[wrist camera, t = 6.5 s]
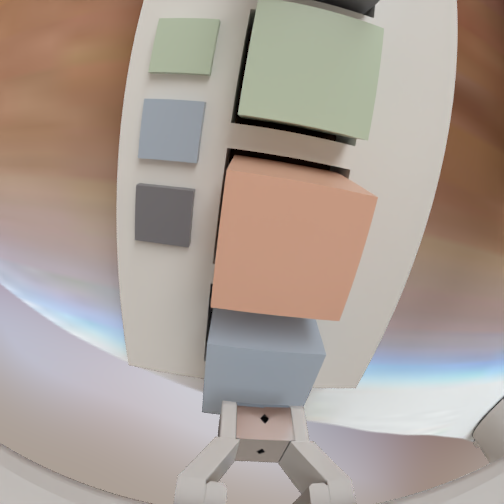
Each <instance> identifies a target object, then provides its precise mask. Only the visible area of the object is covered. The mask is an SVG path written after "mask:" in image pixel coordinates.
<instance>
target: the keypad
mask: <svg viewBox="0 0 504 504" xmlns="http://www.w3.org/2000/svg"><path fill="white" fill-rule="evenodd" d="M282 1H288V2H293V3H298V4H303V5H308V6H312V7H316V8H320V9H324V10H328V11H332V12H336V13H339V14H343V15H346V16H349V17H353V18H356V19H359V20H362V21H365V22H368V23H371V24H373V25H376V26H379V27H382V28H384V35H383V45H382V54H381V62H380V70H379V77H378V85H377V91H376V98H375V104H374V110H373V116H372V122H371V127H370V133H369V138H368V141H367V140H361V139H355V138H349V137H343V136H336V141H331V140H327V139H322V138H318V137H313V136H308V135H303V134H298V133H293V132H287V131H282V130H276V129H270V128H264V127H257V126H251V125H244V124H236V123H235V118H236V112H237V106H238V99H239V93H240V87H241V81H242V75H243V69H244V64H245V58H246V52H247V47H248V41H249V36H250V30H252V28H253V23H254V18H255V13H256V7H257V2H258V0H144V2H143V5H142V9H141V13H140V17H139V21H138V25H137V30H136V34H135V39H134V43H133V48H132V53H131V58H130V64H129V70H128V76H127V82H126V89H125V96H124V103H123V111H122V120H121V130H120V141H119V155H118V173H117V257H118V275H119V289H120V300H121V311H122V320H123V328H124V336H125V343H126V350H127V357H128V363H129V365H131V366H135V367H140V368H144V369H149V370H154V371H160V372H165V373H170V374H176V375H182V376H188V377H195V378H201V379H204V377H205V364H206V352H207V342H208V336H209V330H210V319H211V308H212V307H211V297H212V287H213V278H214V268H215V259H216V250H217V241H218V233H219V225H220V216H221V208H222V201H223V193H224V185H225V178H226V170H227V168H228V166H229V159H230V152H231V148H232V149H240V150H247V151H254V152H261V153H267V154H273V155H279V156H285V157H290V158H296V159H301V160H307V161H312V162H317V163H322V164H326V165H331V166H330V171H332V172H337V173H339V174H341V175H343V176H344V177H346V178H348V179H349V180H351V181H353V182H354V183H356V184H358V185H359V186H361V187H363V188H364V189H366V190H367V191H369V192H371V193H372V194H374V195H375V196H377V197H378V199H377V203H376V207H375V211H374V215H373V218H372V222H371V225H370V229H369V233H368V236H367V240H366V243H365V246H364V250H363V253H362V256H361V259H360V263H359V266H358V269H357V272H356V275H355V278H354V281H353V284H352V287H351V290H350V293H349V296H348V299H347V301H346V304H345V307H344V310H343V313H342V315H341V318H340V321H331V320H319V319H316V322H317V325H318V329H319V332H320V335H321V339H322V342H323V345H324V349H325V352H326V356H325V359H324V361H323V364H322V366H321V368H320V371H319V373H318V375H317V378H316V380H315V382H314V384H313V387H312V388H356V387H357V385H358V383H359V381H360V379H361V378H362V376H363V374H364V372H365V370H366V368H367V367H368V365H369V363H370V361H371V359H372V357H373V355H374V353H375V351H376V349H377V347H378V345H379V343H380V341H381V339H382V337H383V335H384V332H385V330H386V328H387V326H388V324H389V322H390V319H391V317H392V315H393V313H394V310H395V308H396V306H397V303H398V301H399V299H400V296H401V294H402V291H403V289H404V286H405V284H406V281H407V279H408V276H409V273H410V271H411V268H412V265H413V263H414V260H415V257H416V254H417V251H418V248H419V245H420V242H421V239H422V236H423V233H424V230H425V227H426V224H427V220H428V217H429V214H430V210H431V207H432V203H433V199H434V196H435V192H436V188H437V184H438V180H439V176H440V171H441V167H442V162H443V158H444V153H445V148H446V142H447V137H448V131H449V125H450V119H451V112H452V104H453V96H454V87H455V76H456V61H457V0H380V1H379V2H378V3H377V4H375V5H374V6H373V7H372V8H371V9H369V10H368V11H367V12H366V13H365V14H360V13H357V12H354V11H351V10H347V9H344V8H341V7H337V6H334V5H330V4H326V3H322V2H318V1H314V0H282Z"/></svg>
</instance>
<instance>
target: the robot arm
mask: <svg viewBox="0 0 504 504" xmlns="http://www.w3.org/2000/svg"><path fill="white" fill-rule="evenodd" d="M473 438H474V439H475V441H474V446H475V447H476V448H478V447H480V449H481V450H482V452H483V453H484V455H485V456H486V458H487V460H488V461H489V463H490V464H488V465H486V466H484V467H482V468H480V469H478V470H476V471H474V472H471V473H469V474H467V475H464V476H462V477H460V478H457V479H455V480H452V481H450V482H447V483H445V484H442V485H439V486H436V487H434V488H431V489H428V490H425V491H422V492H419V493H415V494H412V495H408V496H405V497H401V498H398V499H394V500H390V501H386V502H382V503H377V504H504V399H502V400H501V401H500V402H499V403H498V404H497V405H496V406H495V407H494V408H493V409H492V410H491V411H490V412H489V413H488V415H487V416H486V417H485V418H484V419H483V420H482V421H481V422H480V424H479V425H478V426H477V428H476V429H475V431H474V433H473ZM234 461H259V462H279V465H280V466H281V468H282V469H283V470H284V472H285V473H286V474H287V476H288V477H289V479H290V480H291V481H292V483H293V484H294V485H295V486H296V488H297V489H298V490H299V492H300V493H301V494H302V495H301V496H300V497H299V498H298V499H297V500H296V501H295V502H294V503H293V504H356V499H355V494H354V490H353V485H352V480H351V478H350V477H349V476H348V475H346V474H345V473H344V472H343V471H342V470H341V469H340V468H339V467H338V466H337V465H336V464H335V463H334V462H333V461H332V460H331V459H330V458H329V457H328V456H327V455H326V454H325V453H324V452H323V451H322V450H321V449H320V448H319V447H318V446H317V445H316V443H314V441H309V435H308V429H307V423H306V417H305V411H304V408H303V406H289V405H267V404H263V405H260V404H250V403H240V402H232V401H222V407H221V413H220V420H219V430H218V437H215V438H214V439H213V440H212V441H211V442H210V444H208V446H207V447H206V448H205V449H204V450H203V451H202V452H201V453H200V454H199V455H198V456H197V457H196V458H195V459H194V460H193V461H192V462H191V463H190V464H189V465H188V466H187V467H186V468H185V469H184V470H183V471H182V472H181V473H180V474H179V475H178V477H177V484H176V490H175V497H174V504H227V485H225V484H224V483H223V482H218V481H219V480H220V479H221V478H222V476H223V475H224V474H225V473H226V471H227V470H228V469H229V468H230V466H231V465H232V464H233V463H234ZM0 504H152V503H147V502H143V501H139V500H135V499H131V498H127V497H124V496H120V495H116V494H113V493H110V492H107V491H104V490H101V489H97V488H95V487H92V486H89V485H86V484H84V483H81V482H78V481H76V480H73V479H71V478H68V477H66V476H64V475H61V474H59V473H57V472H54V471H52V470H50V469H48V468H46V467H43V466H41V465H39V464H37V463H35V462H33V461H31V460H29V459H27V458H26V457H24V456H22V455H20V454H18V453H16V452H15V451H12V450H11V449H9V448H8V447H6V446H4V445H3V444H1V443H0Z"/></svg>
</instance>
